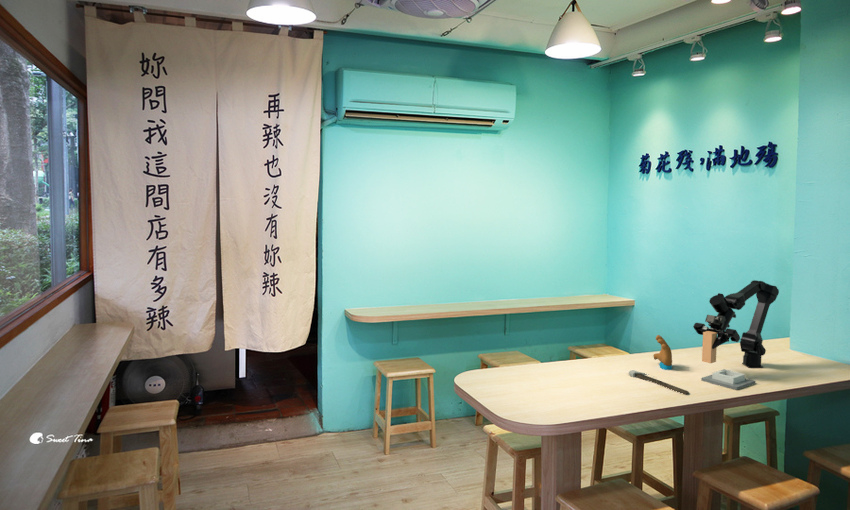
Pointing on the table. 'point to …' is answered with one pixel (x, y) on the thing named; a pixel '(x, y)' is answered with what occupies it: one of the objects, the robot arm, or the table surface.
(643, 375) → the axe
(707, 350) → the tan square peg
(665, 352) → the toy
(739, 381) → the housing
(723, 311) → the robot arm
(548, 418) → the table surface
